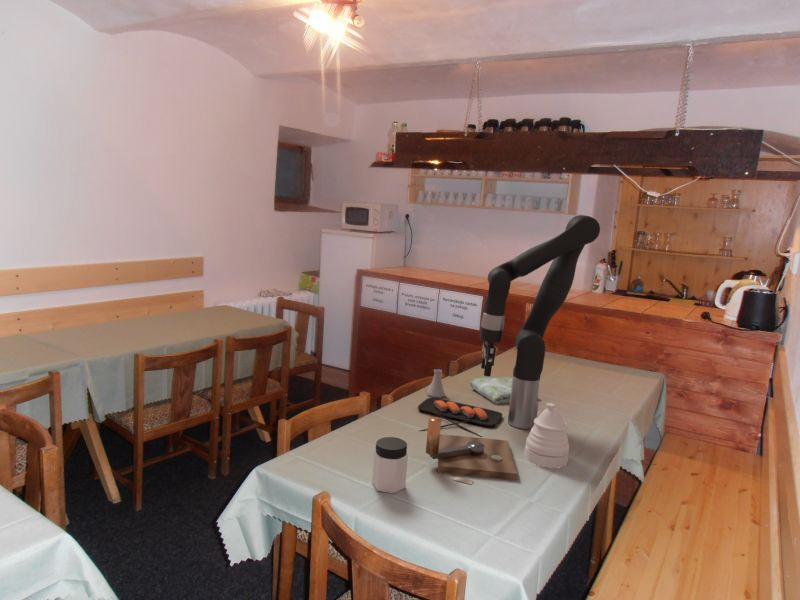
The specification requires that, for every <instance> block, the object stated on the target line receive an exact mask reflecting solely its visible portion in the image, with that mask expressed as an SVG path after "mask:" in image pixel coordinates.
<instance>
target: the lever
mask: <svg viewBox="0 0 800 600" xmlns="http://www.w3.org/2000/svg"><path fill="white" fill-rule="evenodd" d="M441 426H442V418H440V417H439V416H438V417H436V416H431V417H428V422H427V429H428V430H427V431H426V432H427V433H426V446H425V453H426V455H429V457H430V458H431V459H432V460H436V459H437V460H438V458H444V457H451V456H457V455H463V454H469V453H470V454H473V455H481V454H483V453H484V444H482V443H480V442H476V441H472V442H469V443H468V445H465V446H458V447H451V448H445V449H439V440H440V434H441V429H442V428H441Z"/></svg>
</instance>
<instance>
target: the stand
mask: <svg viewBox="0 0 800 600" xmlns="http://www.w3.org/2000/svg"><path fill="white" fill-rule="evenodd" d="M472 441H476V442H480V443H482V444H484V453H483V454H481V455H473V454H470V453H469V454H463V455H457V456H451V457H444V458H438V459H437V473H439V474H440V473H442V474H449V475H450V474H452V475H461V476H471V477H478V478H479V477H482V478H490V479H499V478H500V480H510V481H511V480H513V481H517V477H518V472H517V468H516V464H515V461H514V457H513V453H512V449H511V447H510V443H509V440H504V439H493V438H485V437H483V438H482V437H474V436H463V435H453V434H445V433H444V434H443V433H440V440H439V449H445V448H451V447H458V446H465V445H468V443H469V442H472ZM453 481H454V482H459V483H463V484H467V485H471V486H472V485H473V483H474V480H473V479H467V478H462V477H458V476H455V477H454V479H453Z"/></svg>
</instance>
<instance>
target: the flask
mask: <svg viewBox="0 0 800 600" xmlns="http://www.w3.org/2000/svg"><path fill="white" fill-rule="evenodd" d="M433 372H434V373H433V378H432V381H431V383H430V385H429V387H428V389H427V392H426V394H427V396H428V397H430V398H439V399H442V398H443V397H445V396H446V395H445V390H444V386H443V383H442V373H443V371H442V369H438V368H437V369H435V368H434V369H433Z"/></svg>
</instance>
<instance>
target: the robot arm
mask: <svg viewBox="0 0 800 600" xmlns="http://www.w3.org/2000/svg"><path fill="white" fill-rule="evenodd" d="M600 233H601V226H600V222H598V220H597V219H595V218H594V217H592V216H589V215H585V214H583V215H582V214H578V215H575V216H573V217H572V218H571V219H570V220H569V221H568V222H567V224H566V227H565V230H564V231H562V233H560V234H557V235H555V236H554V237H553V238H551V239H548V240H547V241H545V242H542V243H540V244H538V245H535V246H533V247H530V248H529V249H527V250H526V251H525V250H524V252H521V253H520V254H519V255H517V256H514V258H513V259H510V260H507V261H506V262H503V263H502V264H500V265H497V266H495V267H494V268H492V269H491V270H490V271H489V273H488V274H487V281H488V284H489V285H488V290H487V291H488V292H487V297H486V299H485V301H484V308H483V309H484V310H483V314H482V318H481V324H480V331H479V339H480V340H481V341H483V342H482V347H481V348H482V349H481V364H480V367H481V369H482V370H483V376H484V377H487V378H491V375H492V368H493V367H494V366H495V358H496V357H495V356H496V351H497V349H496V348H497V347H496V345H495V343H497V344H498V343H500V342H501V343H502V338H503V332H504V326H505V313H506V307H507V301H508V297H509V293H510V288H511V285H512V281H514V280H516V279H518V278H522V277H526V276H527V275H529V274H531V273H533V272H534V271H537V270H538V269H540V268H541V267H542V266H544V265H547V264H549V262H551V263H550V266H549V267H548V270H547V272H546V274H545V276H544V278H543V280H542V283H541V285H540V287H539V289H538V291H537V294H536V297H535V299H534V301H533V304H532V307H531V310H530V313H529V314H528V317H527V318H526V320H525V322H523V325H522V327H521V328H520V330H519V331H518V333H517V335H516V338H515V348H516V358H515V365H514V367H513V370H512V371H513V372H512V377H511V378H512V387H511V396H510V403H509V406H508V415H507V424H509V425H510V426H512V427H513V428H515V429H516V428H517V429H522V430H529V429H530V430H531V429H532V427H533V426H534V419H535V418H537V417H538V411H539V403H540V402H539V400H538V398H539V390H540V389H539V388H540V380H541V374H542V372H543V369H544V363H545V362H544V361H545V355H546V341H545V340H544V339H543V338H544V336H545V333H546V330H547V327H548V326H549V323H550V321H551V320H552V318H553V317H554V316H555V315H556V313H557V312H558V311H559V310H560V309H561V308H562V306H563V304H564V303H565V301H566V300H567V297H568V295H569V293H570V291H571V288H572V286H573V283H574V279H575V274H576V267H577V263H578V261H579V258H580V256H581V253H582V251H583V250H584V248H585V246H586V245H589V244H590V243H593V242H595V241H596V240H597V238H598V237H599V235H600Z"/></svg>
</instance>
